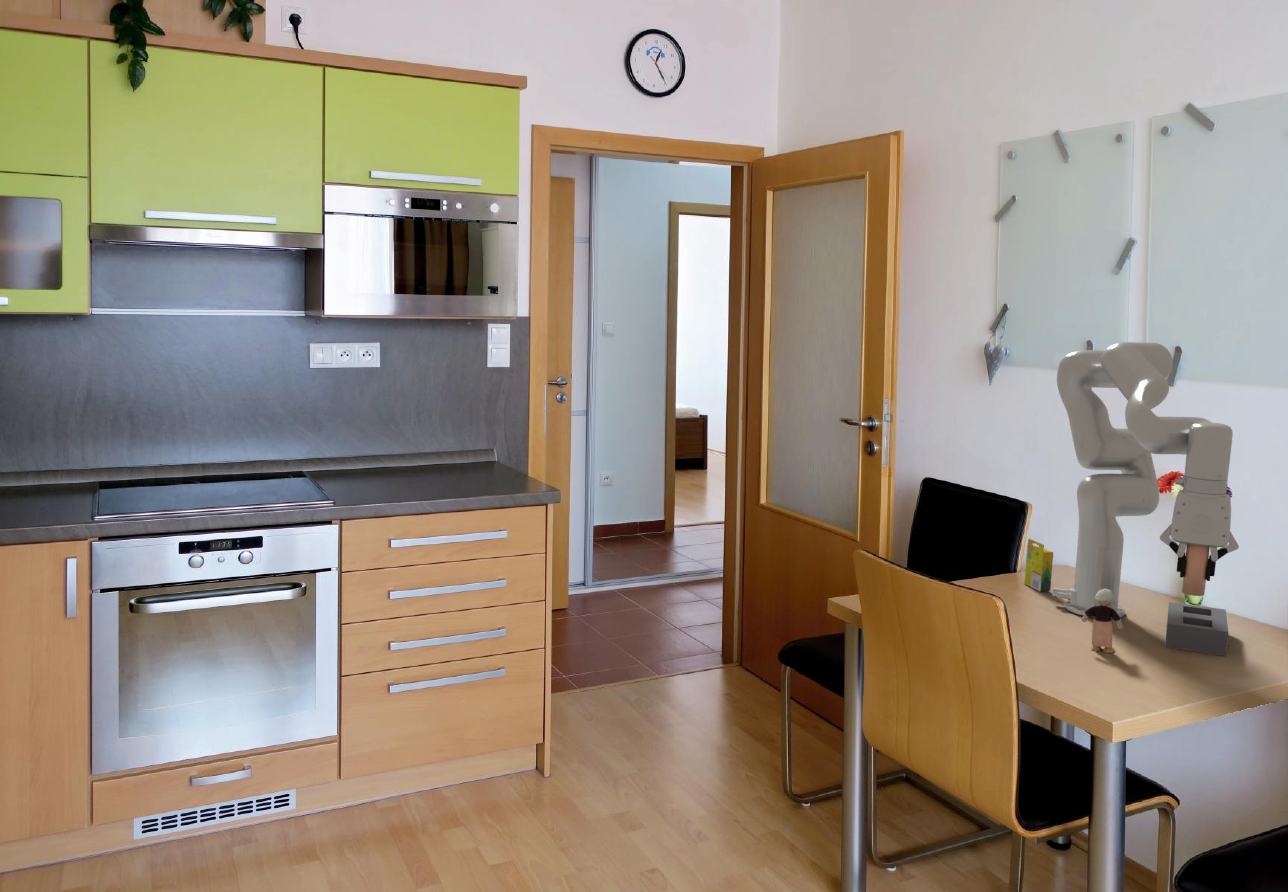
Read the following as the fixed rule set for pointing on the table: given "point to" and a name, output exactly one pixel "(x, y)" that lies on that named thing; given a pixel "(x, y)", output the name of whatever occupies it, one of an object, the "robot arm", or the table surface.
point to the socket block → (1197, 629)
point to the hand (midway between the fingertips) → (1194, 576)
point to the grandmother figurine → (1103, 621)
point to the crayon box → (1038, 567)
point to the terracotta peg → (1195, 570)
